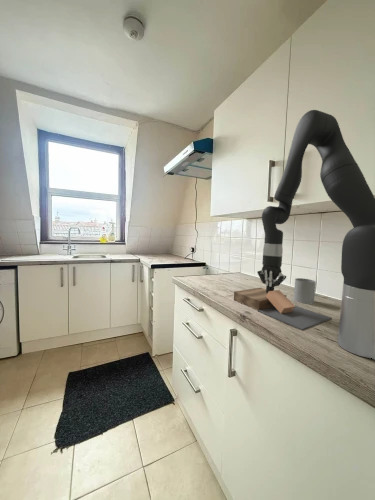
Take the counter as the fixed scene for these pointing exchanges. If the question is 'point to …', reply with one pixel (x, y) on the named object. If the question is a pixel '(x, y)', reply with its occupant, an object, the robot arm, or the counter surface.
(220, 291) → the counter surface
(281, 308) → the orange rectangular block
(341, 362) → the counter surface
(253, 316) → the counter surface
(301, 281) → the cup
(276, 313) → the mat
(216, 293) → the counter surface
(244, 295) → the block
